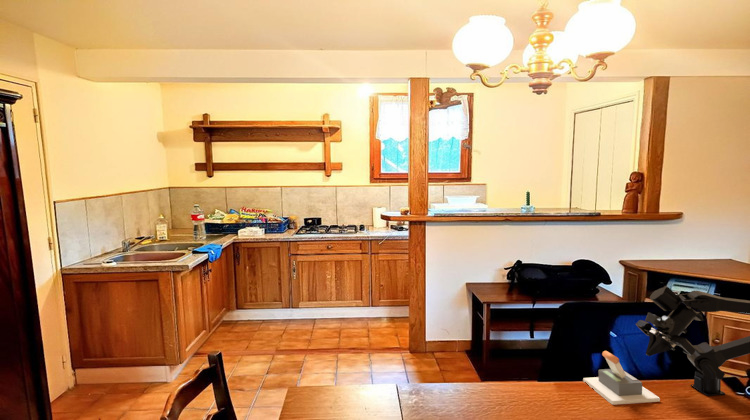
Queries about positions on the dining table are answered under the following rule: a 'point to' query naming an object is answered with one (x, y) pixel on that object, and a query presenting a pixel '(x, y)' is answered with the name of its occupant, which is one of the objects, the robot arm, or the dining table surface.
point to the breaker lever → (614, 364)
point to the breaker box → (620, 388)
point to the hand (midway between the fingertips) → (647, 354)
